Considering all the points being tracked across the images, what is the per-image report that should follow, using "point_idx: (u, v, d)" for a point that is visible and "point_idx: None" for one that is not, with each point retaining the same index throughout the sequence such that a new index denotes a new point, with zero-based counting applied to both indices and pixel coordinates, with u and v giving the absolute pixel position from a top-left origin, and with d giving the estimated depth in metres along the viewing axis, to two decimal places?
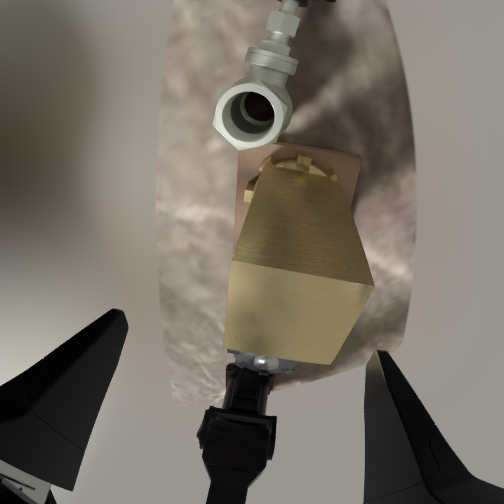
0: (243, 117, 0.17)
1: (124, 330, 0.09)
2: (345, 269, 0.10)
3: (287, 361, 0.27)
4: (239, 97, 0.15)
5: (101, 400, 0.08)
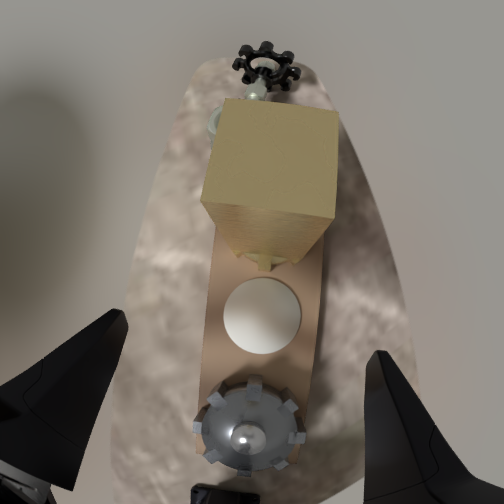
0: None
1: (124, 330, 0.09)
2: None
3: (277, 443, 0.17)
4: None
5: (102, 400, 0.08)
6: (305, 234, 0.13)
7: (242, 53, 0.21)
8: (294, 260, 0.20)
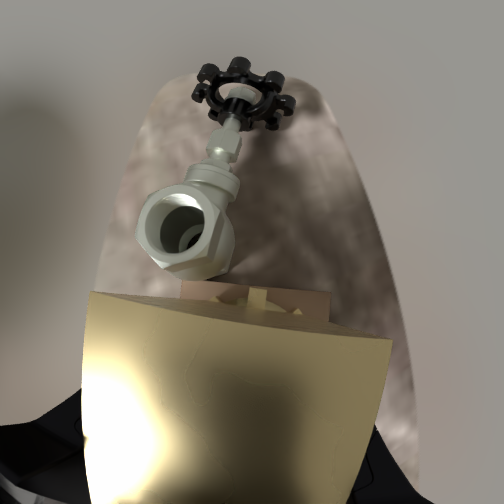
0: None
1: None
2: (321, 330, 0.05)
3: None
4: (175, 228, 0.15)
5: None
6: None
7: (202, 78, 0.14)
8: None
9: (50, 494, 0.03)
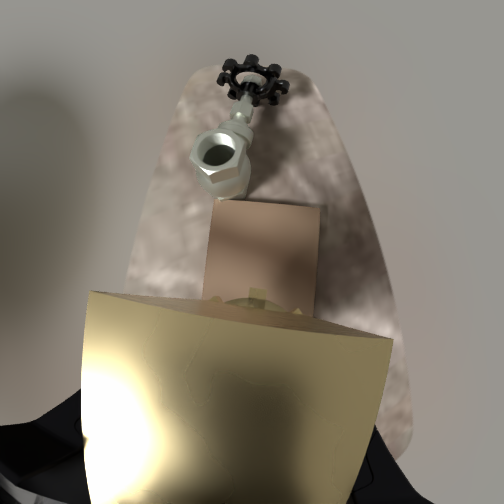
0: None
1: None
2: (321, 330, 0.05)
3: None
4: (210, 164, 0.22)
5: None
6: None
7: (226, 68, 0.21)
8: None
9: (50, 494, 0.03)
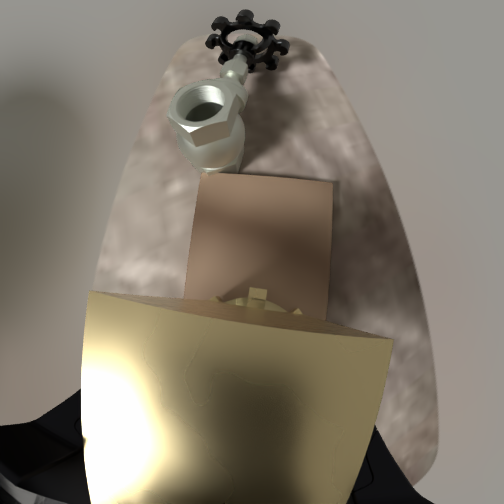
0: None
1: None
2: (321, 330, 0.05)
3: None
4: None
5: None
6: None
7: (216, 26, 0.16)
8: None
9: (50, 494, 0.03)
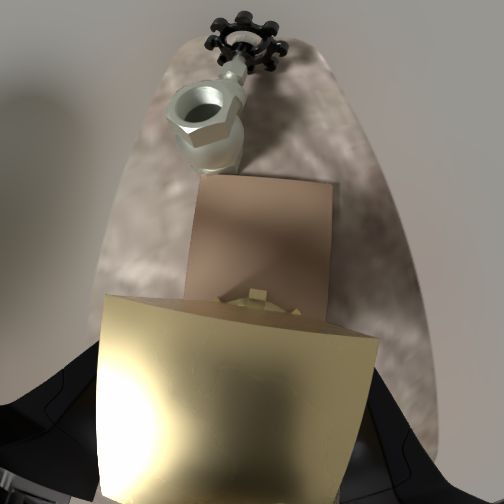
0: None
1: None
2: (315, 330, 0.05)
3: None
4: None
5: None
6: None
7: (215, 27, 0.16)
8: None
9: (17, 471, 0.03)
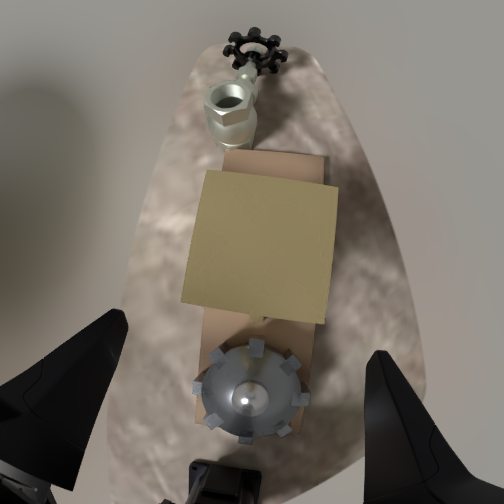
0: None
1: (124, 330, 0.09)
2: None
3: (280, 405, 0.17)
4: None
5: (102, 400, 0.08)
6: None
7: (232, 39, 0.22)
8: None
9: None
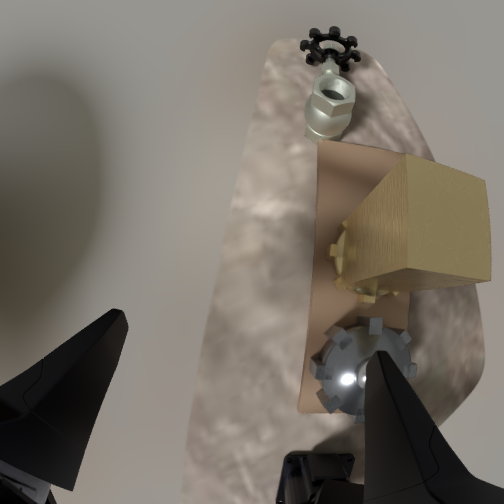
0: None
1: (124, 330, 0.09)
2: None
3: None
4: None
5: (102, 400, 0.08)
6: (447, 284, 0.12)
7: (313, 35, 0.22)
8: (394, 293, 0.20)
9: None
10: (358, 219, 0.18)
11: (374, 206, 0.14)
